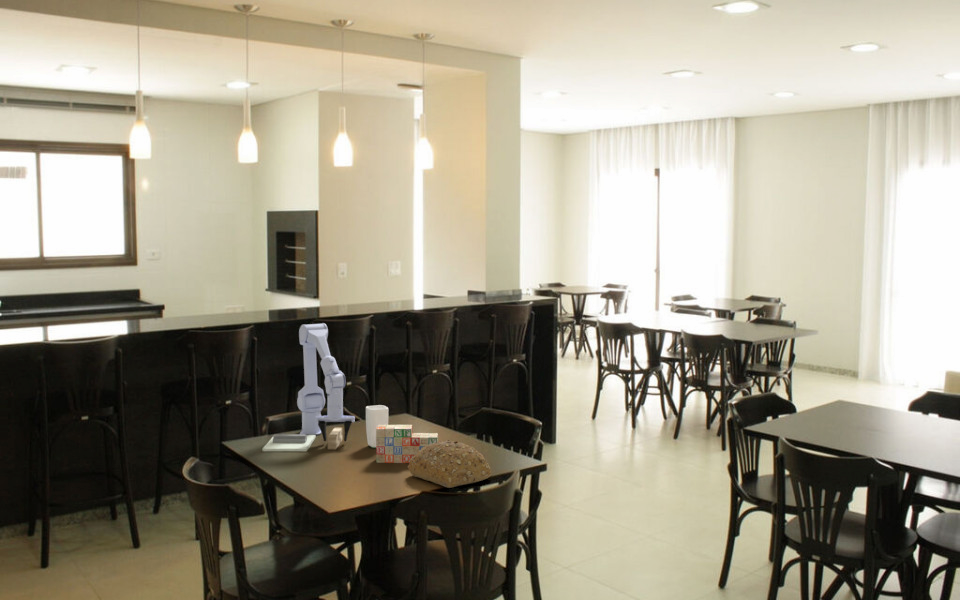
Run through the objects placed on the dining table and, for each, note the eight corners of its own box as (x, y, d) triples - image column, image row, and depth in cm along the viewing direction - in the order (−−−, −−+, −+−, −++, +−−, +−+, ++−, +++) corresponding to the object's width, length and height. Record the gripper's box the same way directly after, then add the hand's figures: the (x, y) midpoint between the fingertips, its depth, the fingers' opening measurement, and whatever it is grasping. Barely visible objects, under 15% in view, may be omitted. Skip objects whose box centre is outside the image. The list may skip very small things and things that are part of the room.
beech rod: (334, 440, 313) (334, 427, 313) (342, 440, 313) (342, 427, 313) (327, 449, 299) (327, 436, 299) (335, 449, 299) (335, 436, 299)
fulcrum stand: (274, 437, 315) (274, 428, 315) (315, 437, 316) (315, 428, 315) (262, 451, 295) (262, 441, 295) (306, 451, 296) (306, 441, 295)
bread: (401, 476, 267) (401, 441, 266) (449, 464, 282) (449, 430, 281) (449, 494, 250) (450, 456, 249) (498, 480, 264) (499, 444, 263)
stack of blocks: (438, 458, 289) (438, 424, 288) (437, 463, 282) (437, 428, 281) (378, 458, 289) (378, 424, 288) (375, 463, 282) (375, 428, 281)
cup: (371, 449, 299) (371, 410, 298) (364, 445, 305) (364, 406, 304) (389, 447, 302) (389, 408, 301) (382, 443, 309) (382, 404, 307)
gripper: (314, 407, 301) (314, 443, 302) (353, 407, 301) (353, 443, 302) (317, 403, 308) (317, 438, 309) (355, 403, 308) (355, 438, 309)
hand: (335, 440), depth 306 cm, fingers open, 7 cm apart
